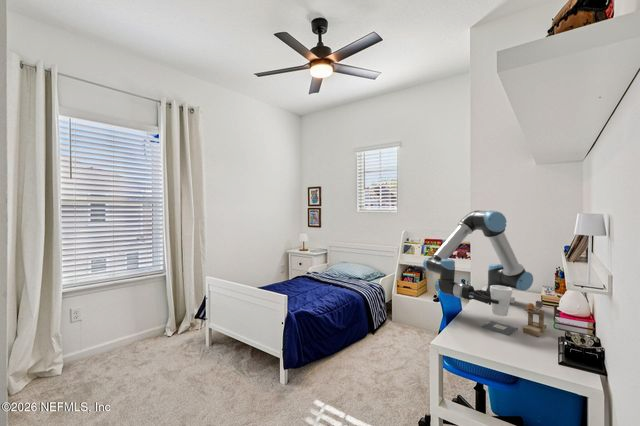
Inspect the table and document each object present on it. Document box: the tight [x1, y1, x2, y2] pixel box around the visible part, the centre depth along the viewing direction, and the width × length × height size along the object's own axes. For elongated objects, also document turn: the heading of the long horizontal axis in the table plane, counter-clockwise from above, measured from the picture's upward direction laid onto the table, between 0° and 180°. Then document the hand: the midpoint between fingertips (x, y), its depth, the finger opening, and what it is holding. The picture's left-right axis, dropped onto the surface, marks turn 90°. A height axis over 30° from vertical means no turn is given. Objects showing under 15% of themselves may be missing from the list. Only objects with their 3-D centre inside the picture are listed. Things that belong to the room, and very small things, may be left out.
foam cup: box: [490, 285, 513, 317], centre depth 152 cm, size 10×9×13 cm
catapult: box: [522, 300, 548, 338], centre depth 149 cm, size 17×6×15 cm, turn 130°
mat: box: [482, 320, 519, 336], centre depth 153 cm, size 12×12×1 cm
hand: (510, 302), depth 149 cm, fingers closed on foam cup, 9 cm apart
